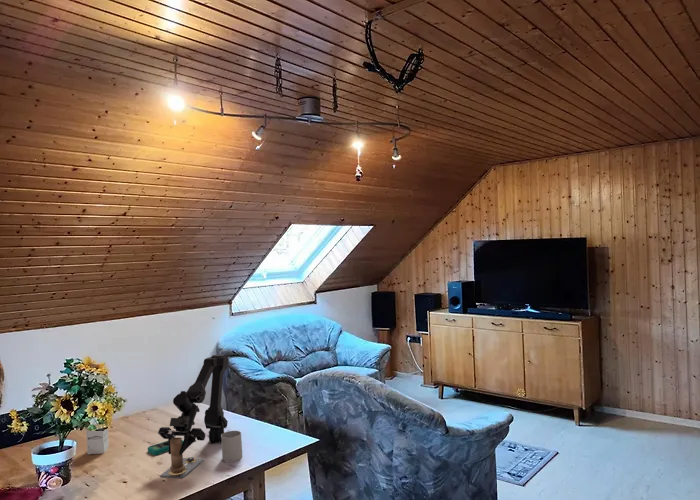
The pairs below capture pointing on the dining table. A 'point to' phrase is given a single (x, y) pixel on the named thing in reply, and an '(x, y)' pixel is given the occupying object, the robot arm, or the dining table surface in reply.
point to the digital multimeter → (159, 448)
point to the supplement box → (97, 441)
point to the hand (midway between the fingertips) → (174, 454)
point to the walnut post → (176, 455)
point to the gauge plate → (189, 466)
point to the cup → (231, 446)
